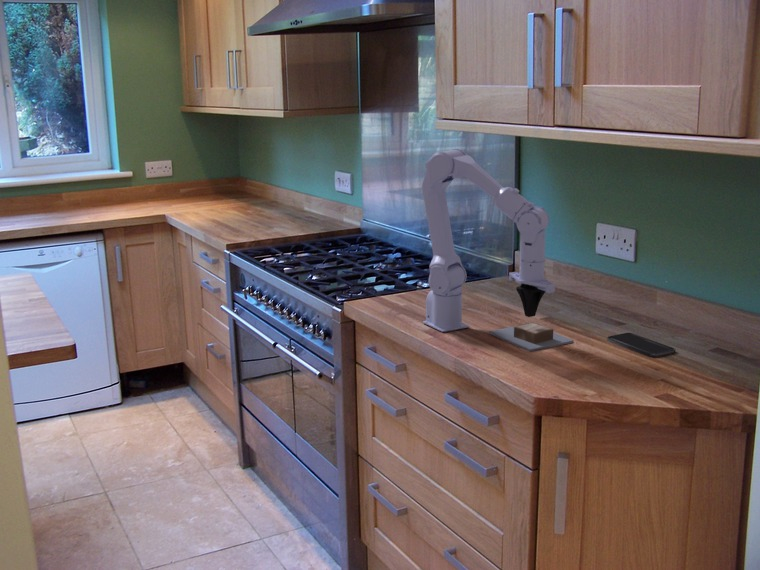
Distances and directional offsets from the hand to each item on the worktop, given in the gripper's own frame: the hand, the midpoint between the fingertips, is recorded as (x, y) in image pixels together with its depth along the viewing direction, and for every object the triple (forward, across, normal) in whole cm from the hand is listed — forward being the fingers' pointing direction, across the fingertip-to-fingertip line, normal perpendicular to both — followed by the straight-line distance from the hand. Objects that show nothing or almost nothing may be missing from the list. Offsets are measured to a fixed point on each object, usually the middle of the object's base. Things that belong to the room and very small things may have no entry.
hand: (530, 315), depth 196 cm
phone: (+6, +17, +19) cm, 26 cm away
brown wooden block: (+4, -3, 0) cm, 5 cm away
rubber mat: (+6, -1, +1) cm, 6 cm away
